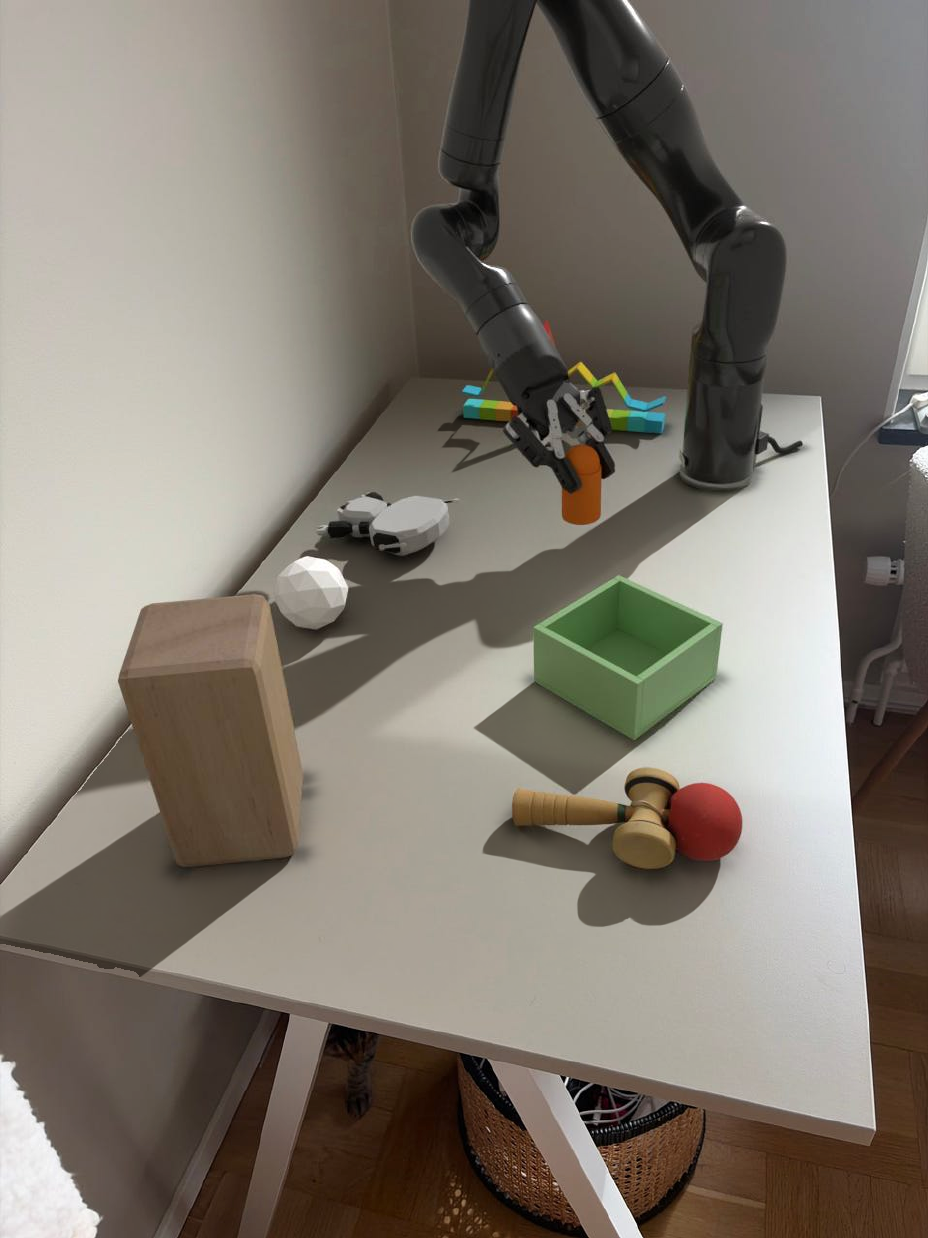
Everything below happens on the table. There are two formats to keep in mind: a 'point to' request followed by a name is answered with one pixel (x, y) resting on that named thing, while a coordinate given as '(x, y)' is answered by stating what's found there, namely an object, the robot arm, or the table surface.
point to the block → (215, 728)
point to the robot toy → (391, 522)
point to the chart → (617, 417)
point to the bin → (626, 655)
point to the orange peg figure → (583, 487)
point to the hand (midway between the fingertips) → (592, 482)
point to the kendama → (646, 818)
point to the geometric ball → (311, 592)
